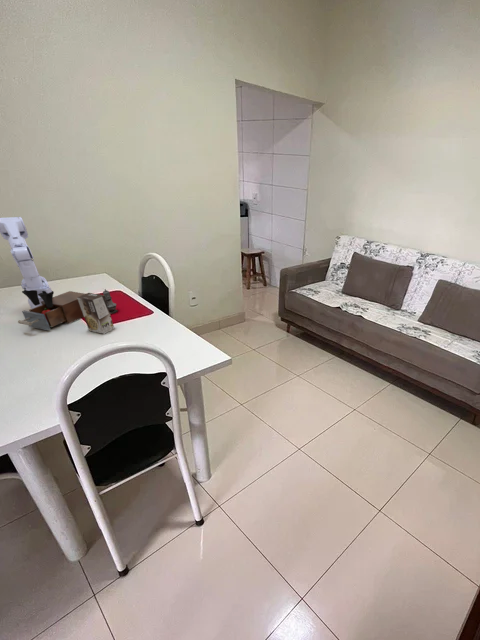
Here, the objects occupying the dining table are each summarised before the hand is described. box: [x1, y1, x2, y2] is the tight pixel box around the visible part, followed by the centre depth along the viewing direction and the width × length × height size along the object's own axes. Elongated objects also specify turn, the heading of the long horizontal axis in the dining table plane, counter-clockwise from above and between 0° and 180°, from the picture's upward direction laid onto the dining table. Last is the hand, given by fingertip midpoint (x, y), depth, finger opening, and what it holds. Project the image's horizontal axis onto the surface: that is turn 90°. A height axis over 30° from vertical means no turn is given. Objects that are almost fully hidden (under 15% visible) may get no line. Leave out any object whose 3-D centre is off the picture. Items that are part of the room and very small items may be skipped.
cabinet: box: [41, 290, 85, 325], centre depth 158 cm, size 16×13×9 cm
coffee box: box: [77, 292, 115, 335], centre depth 145 cm, size 9×6×16 cm
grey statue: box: [102, 288, 119, 315], centre depth 163 cm, size 6×6×12 cm
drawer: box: [17, 304, 67, 331], centre depth 148 cm, size 20×11×7 cm, turn 163°
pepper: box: [41, 308, 51, 322], centre depth 149 cm, size 5×5×6 cm
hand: (43, 306), depth 146 cm, fingers open, 7 cm apart
